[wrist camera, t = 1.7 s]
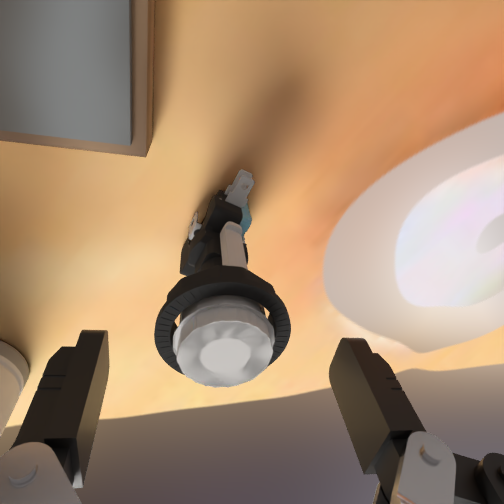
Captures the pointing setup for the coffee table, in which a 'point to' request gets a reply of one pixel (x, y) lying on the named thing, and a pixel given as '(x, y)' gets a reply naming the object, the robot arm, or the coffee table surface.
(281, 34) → the coffee table surface
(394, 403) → the robot arm
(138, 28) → the tray
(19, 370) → the travel mug
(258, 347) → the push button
